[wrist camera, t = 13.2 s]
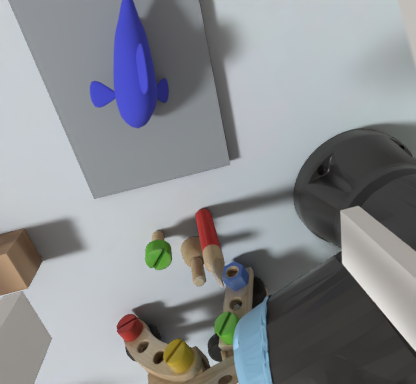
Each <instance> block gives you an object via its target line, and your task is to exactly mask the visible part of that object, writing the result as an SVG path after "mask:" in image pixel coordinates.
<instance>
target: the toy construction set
mask: <svg viewBox="0 0 416 384" xmlns="http://www.w3.org/2000/svg"><path fill="white" fill-rule="evenodd" d="M195 217H196V222H197V228H198V233H199V237H190V238H188V239H186V240H185V241H184V242H183V243H182V246H181V253H182V256H183V259H184V261H185V263H186V264H187V265H188V266H190V267H191V269H192V276H193V281H194V284H195V285H196V286H202V285H203V284H204V283H205V282H206V278H205V272H204V267H203V264H205V267H206V269H207V270H208V271H210V272H212V273H213V275H214V277H215V278H216V280H217V282H218V283H219V285H220V287H223V286H224V284H223V281H224V283H225V284H226V291H225V299H224V306H223V313H221V314H220V315H219V316H218V317H217V318H216V320H215V324H214V329H215V332H216V334H215V335H213V336H212V337H211V338H210V339H209V341H208V352H209V355H210V357H211V358H212V359H213V360H215V361H218V362H220V363H218V364H216V365H214V366H212V367H210V365H209V361H208V359H207V357H206V356H205V355H204V354H203V353H202V352H201V351H200V350H199V349H198V347H196V346H195V347H193V348H191V347H189V346H188V345H187V344H186V343H185V342H184V341H183V340H182V339H175V340H173V341H171V342H170V343H169V344H167V343H164V342H162V341H161V336H160V333H159V332H158V330H157V329H156V327H154V326H153V325H150V324H145V322H144V321H143V320H141V319H138V318H137V317H136V316H135V315H133V314H128V315H126V316H124V317H123V318H122V319H121V320H120V321H119V323H118V325H117V332H118V334H119V335H120V336H121V337H122V338H123V339H124V342H125V345H126V347H125V348H126V352H127V355H128V356H129V357H130V358H131V359H132V360H133V361H136V362H138V363H139V364H140V365H141V366H142V367H143V368H144V369H145V370H146V371H147V372H148V373H149V374H148V384H236V383H238V378H237V373H236V368H235V363H234V351H233V337H234V332H235V328H236V325H237V323H238V322H239V320H240V319H241V318H242V317H243V316H244V315H245V314H247V313H248V312H249V311H251V310H252V309H253V308H255V307H256V306H258V305H259V304H260V303H262V302H263V301H264V299H265V297H267V296H268V289H267V288H266V286H265V285H264V284H263V282H262V281H261V279H260V278H258V277H256V276H254V272H253V270H252V268H250V267H249V268H245V267H244V266H243V265H242V264H240V263H237V262H232V263H230V264H229V265H227V266H225V267H224V263H225V262H224V258H223V254H222V250H221V247H220V243H219V240H218V236H217V233H216V229H215V226H214V222H213V219H212V215H211V213H210V211H208V210H207V209H200V210H199V211H198V212H197V213H196V216H195ZM145 261H146V264H147V265H148V266H149V267H150V268H152V267H153V268H155V270H162V269H165V268H166V267H168V266H169V265H170V263H171V261H172V253H171V246H170V244H169V243H167V242H166V241H164V234H163V232H161V231H156V232H154V233H153V235H152V242H150V243H149V244H148V245H147V247H146V255H145ZM235 304H238V305H240V306H241V307H240V308H239V309H238V310H233V308H234V305H235Z"/></svg>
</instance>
